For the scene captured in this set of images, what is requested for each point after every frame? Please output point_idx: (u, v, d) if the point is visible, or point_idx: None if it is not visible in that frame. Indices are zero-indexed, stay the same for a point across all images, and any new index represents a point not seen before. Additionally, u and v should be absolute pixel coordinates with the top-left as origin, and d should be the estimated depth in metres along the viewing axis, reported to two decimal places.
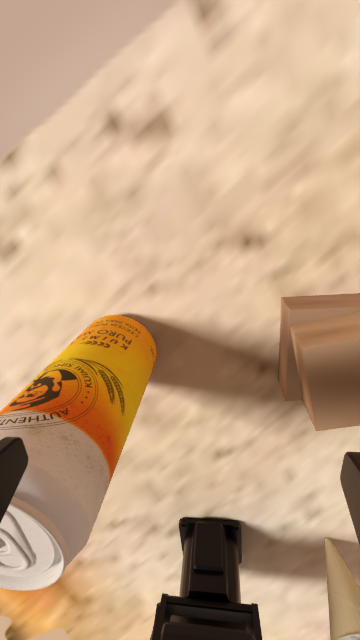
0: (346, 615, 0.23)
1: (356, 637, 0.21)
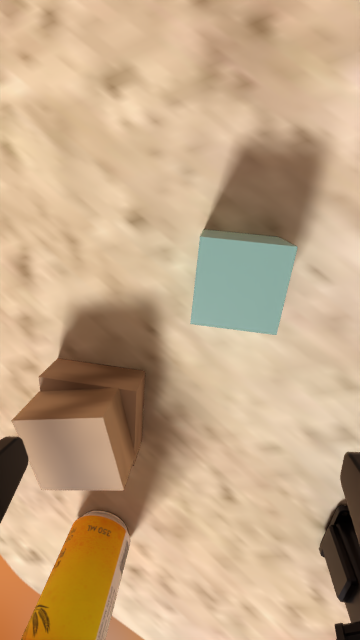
0: None
1: None
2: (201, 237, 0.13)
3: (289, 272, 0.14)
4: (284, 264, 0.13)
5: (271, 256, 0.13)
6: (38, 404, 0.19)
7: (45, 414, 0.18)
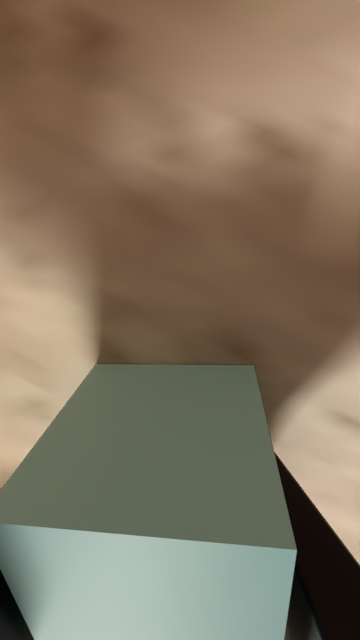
0: None
1: None
2: None
3: (282, 602, 0.04)
4: (261, 585, 0.04)
5: (212, 569, 0.04)
6: None
7: None
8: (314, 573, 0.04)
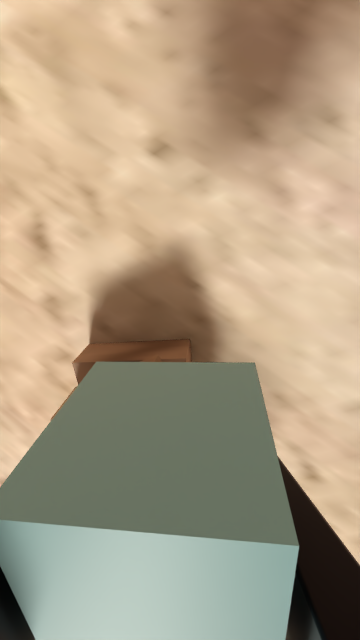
0: None
1: None
2: None
3: (284, 599, 0.04)
4: (262, 582, 0.04)
5: (213, 566, 0.04)
6: None
7: None
8: (314, 573, 0.04)
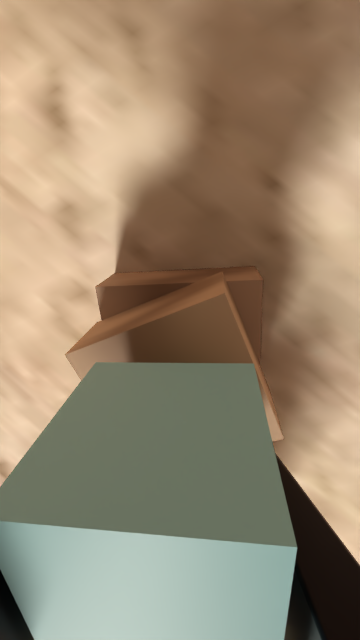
0: None
1: None
2: None
3: (282, 600, 0.04)
4: (261, 583, 0.04)
5: (212, 566, 0.04)
6: (100, 329, 0.11)
7: (118, 330, 0.10)
8: (314, 573, 0.04)
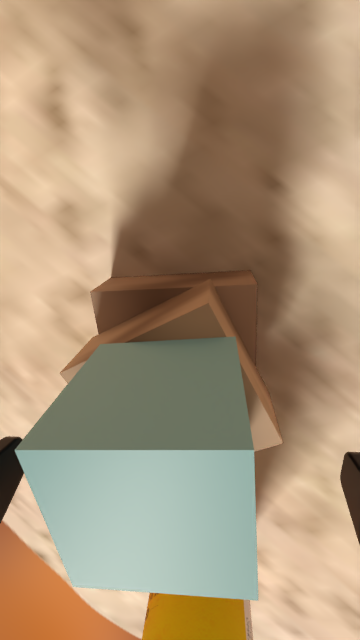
0: None
1: None
2: (19, 450, 0.06)
3: (250, 499, 0.05)
4: (232, 485, 0.05)
5: (194, 474, 0.05)
6: (94, 344, 0.11)
7: None
8: None
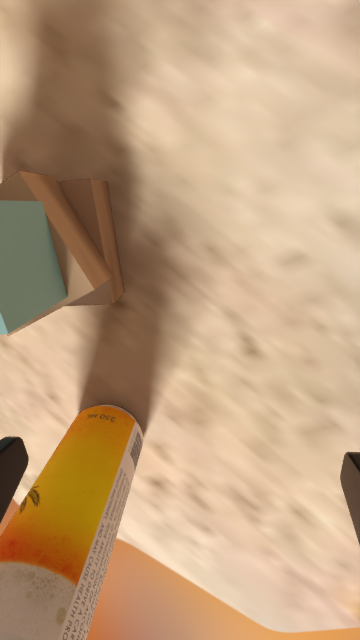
0: None
1: None
2: None
3: None
4: None
5: None
6: None
7: None
8: None
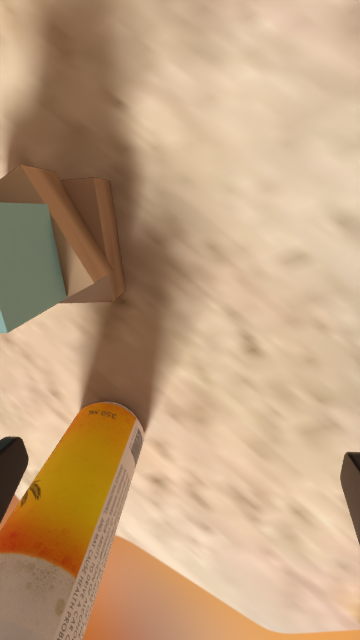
0: None
1: None
2: None
3: None
4: None
5: None
6: None
7: None
8: None
